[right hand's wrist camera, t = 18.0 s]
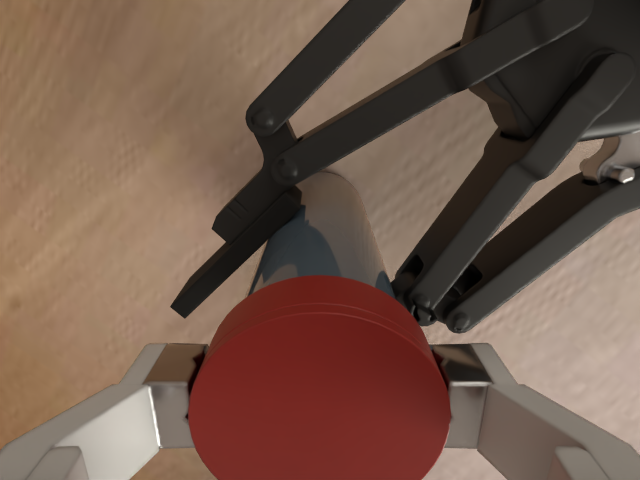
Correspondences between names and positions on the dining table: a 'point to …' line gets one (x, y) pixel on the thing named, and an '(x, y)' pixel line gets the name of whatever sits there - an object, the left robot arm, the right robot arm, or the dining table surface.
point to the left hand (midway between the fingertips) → (237, 336)
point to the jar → (323, 239)
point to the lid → (319, 387)
